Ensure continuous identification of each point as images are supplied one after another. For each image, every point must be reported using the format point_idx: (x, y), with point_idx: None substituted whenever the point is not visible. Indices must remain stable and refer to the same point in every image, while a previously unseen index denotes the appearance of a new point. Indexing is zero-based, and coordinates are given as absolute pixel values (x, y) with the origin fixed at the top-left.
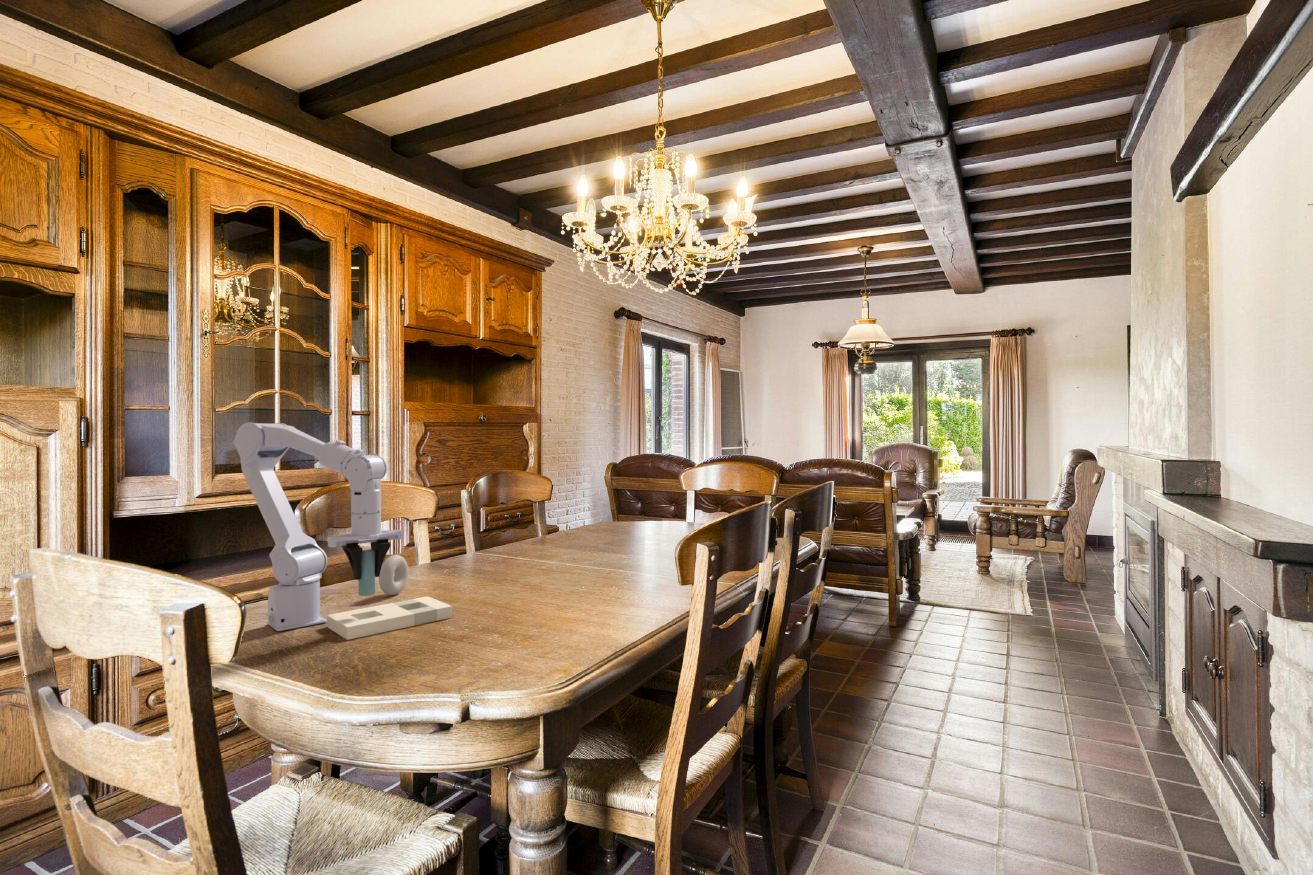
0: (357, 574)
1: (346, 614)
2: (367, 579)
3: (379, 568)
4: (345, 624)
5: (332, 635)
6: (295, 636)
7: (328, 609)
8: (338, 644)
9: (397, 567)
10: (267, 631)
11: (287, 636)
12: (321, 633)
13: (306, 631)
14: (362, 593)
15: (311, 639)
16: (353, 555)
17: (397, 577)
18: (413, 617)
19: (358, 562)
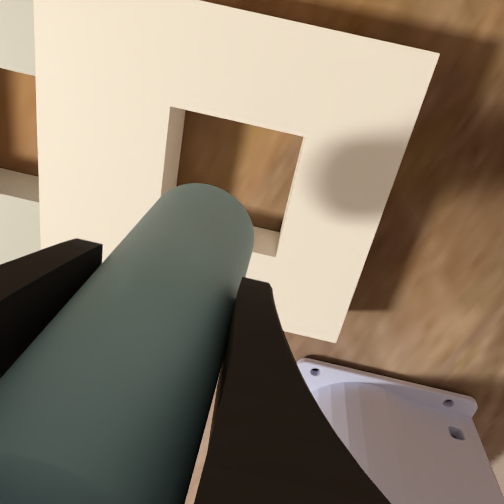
0: (273, 304)
1: (280, 280)
2: (195, 240)
3: (36, 259)
4: (404, 117)
5: (403, 186)
6: (485, 303)
7: (199, 472)
8: (499, 14)
9: None
10: (481, 430)
11: (498, 327)
12: (405, 252)
13: (415, 324)
14: (246, 219)
15: (490, 211)
16: (367, 481)
17: None
18: None
19: (261, 378)
